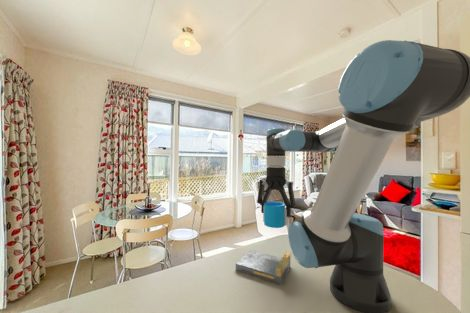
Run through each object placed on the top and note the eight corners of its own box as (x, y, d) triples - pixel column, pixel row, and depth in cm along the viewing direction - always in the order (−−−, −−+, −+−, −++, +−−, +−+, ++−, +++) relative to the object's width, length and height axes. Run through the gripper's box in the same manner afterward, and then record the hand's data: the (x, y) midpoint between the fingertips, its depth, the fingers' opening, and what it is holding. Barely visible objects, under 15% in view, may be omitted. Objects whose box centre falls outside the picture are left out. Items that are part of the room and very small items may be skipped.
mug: (287, 227, 78) (287, 206, 78) (266, 228, 77) (266, 206, 77) (278, 218, 90) (278, 199, 90) (260, 218, 89) (260, 199, 89)
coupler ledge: (290, 266, 74) (290, 252, 74) (280, 285, 63) (280, 269, 63) (250, 255, 82) (250, 243, 82) (235, 270, 71) (235, 256, 71)
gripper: (304, 167, 81) (304, 224, 81) (256, 165, 91) (256, 216, 91) (299, 167, 74) (299, 230, 74) (248, 166, 85) (248, 220, 85)
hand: (275, 222), depth 83 cm, fingers closed on mug, 8 cm apart
